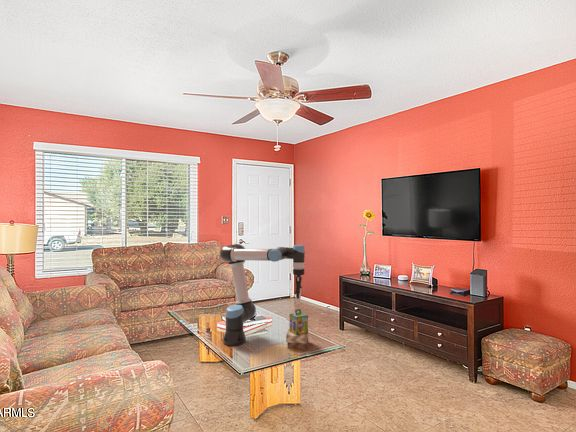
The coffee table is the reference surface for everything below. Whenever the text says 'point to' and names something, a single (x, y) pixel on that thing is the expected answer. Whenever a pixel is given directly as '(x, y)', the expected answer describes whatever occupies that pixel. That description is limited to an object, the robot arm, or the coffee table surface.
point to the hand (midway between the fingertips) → (298, 300)
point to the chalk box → (298, 323)
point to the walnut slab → (297, 345)
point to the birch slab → (296, 337)
